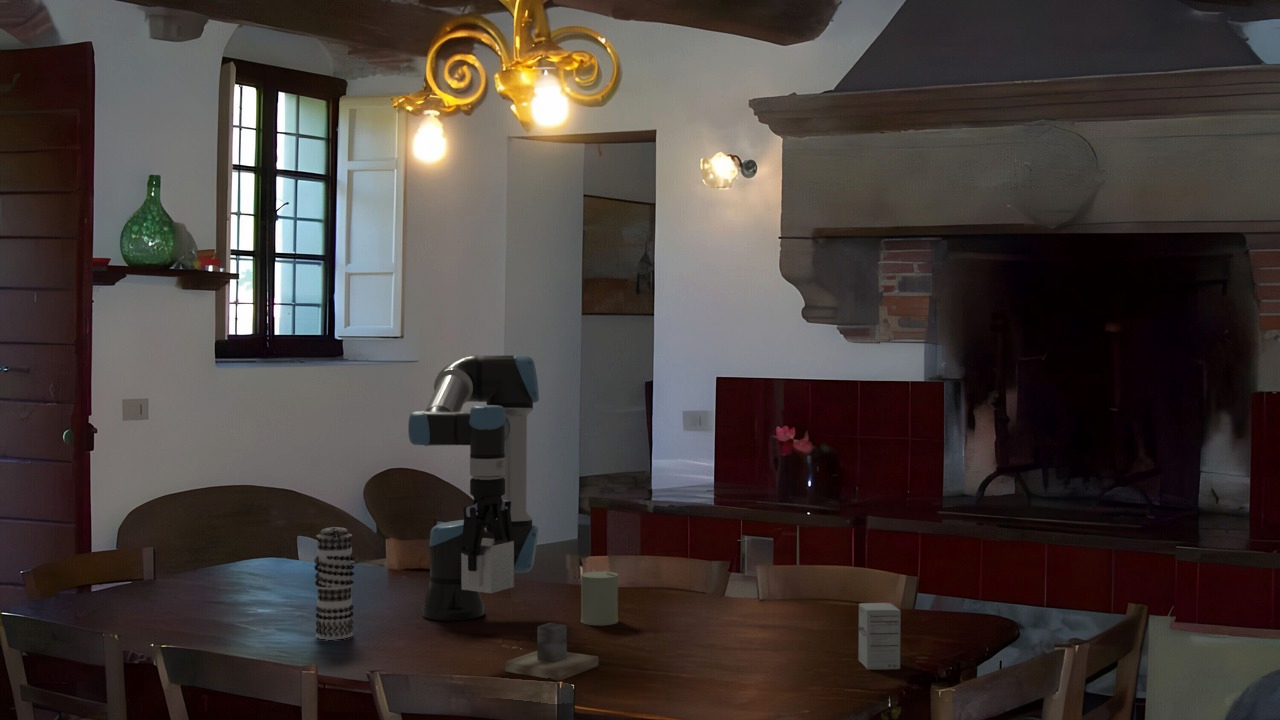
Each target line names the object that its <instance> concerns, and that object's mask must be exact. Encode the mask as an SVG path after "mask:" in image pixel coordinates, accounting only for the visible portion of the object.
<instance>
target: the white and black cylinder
mask: <svg viewBox="0 0 1280 720" xmlns="http://www.w3.org/2000/svg"><path fill="white" fill-rule="evenodd" d="M348 530H349V529H348V528H345V527H340V526H339V527H336V526H335V527H334V526H333V527H332V526H331V527H325V528H323V529H321V531H320V532H319V534H317V535H316V536H315V537H317V548H316V552H317V553H316V555H317V556H316V557H315V558H314V561H313V562H314V564H315V565H314V570H315V571H316V573H315V575H314V577H315V581H314V583H315V588H317V600H316V603H317V606H316V607H315V611H316V612H317V613H316V614H315V618H316V619H317V620H316V621H315V626H316V627H315V633H316V635H315V638H316V637H318V638H323V639H340V638H347V637H351V636H352V635H353V636H354V633H353V631H354V628H355V627H354V626H353V624H354V623H355V622H354V619H353V618H352V617H353V616H354V612H353V611H352V610H354V605H353V597H352V587H353V586H354V583H355V582H354V580H352V579H351V577H353V576H354V575H355V572H354V571H353V569H354V568H355V565H354V564H352V563H351V562H353V561H354V560H356V557H355V556H354V554H355V551H353V547H352V536H353V534H352V533H350V532H349V531H348ZM351 638H352V637H351Z"/></svg>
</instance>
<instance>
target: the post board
mask: <svg viewBox="0 0 1280 720" xmlns="http://www.w3.org/2000/svg"><path fill="white" fill-rule="evenodd" d="M536 631H537V632H536V633H537V636H536V638H537V640H536V641H537V644H536V645H537V646H536V647H537V649H536V651H532V652H530V653H527V654H524V655H521V656H518V657H515V658H512V659H509V660H507V661H504V672H505V673H506V672H507V673H512V674H519V675H525V676H531V677H537V678H541V679H542V678H543V679H548V678H551V679H550V680H554V681H559V682H560V681H563V680H566V679H569V678H570V677H574V676H576V675H579V674H581V673H584V672H586V671H589V670H591V669H594V668H597V667H599V656H598V655H589V654H583V653H577V652H570V651H568V648H567V647H568V625H566V624H561V623H554V622H548V623H544V624H541V625H538V626H537V630H536Z"/></svg>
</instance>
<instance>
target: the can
mask: <svg viewBox="0 0 1280 720" xmlns="http://www.w3.org/2000/svg"><path fill="white" fill-rule="evenodd" d="M580 577H581V578H580V580H581V582H580V583H581V584H580V585H581V592H580V593H581V600H580V601H581V602H580V603H581V606H580V607H581V609H580V610H581V611H580V612H581V615H580V616H581V617H580V618H581V619H580V622H581V624H584V625H588V626H597V627H598V626H612V625H615V624H618V623H619V610H618V609H619V605H618V603H619V597H618V596H619V592H618V591H619V590H618V588H619V574H618V573H617V572H613V571H603V570H602V571H601V570H600V571H586V572H583V573H581V574H580Z"/></svg>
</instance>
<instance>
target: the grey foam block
mask: <svg viewBox="0 0 1280 720" xmlns="http://www.w3.org/2000/svg"><path fill="white" fill-rule="evenodd" d="M466 548H467V547H466ZM473 550H474V549H473ZM478 555H479V556H481V586H480V587H477V586H470V585H469V570H468V556H467V555H464V554H463V553H461V584H462V590H470V591H477V592H480V593H485V594H494V593H497V592H501V591H505V590H509V589H511V588H512V589H513V588H515V573H514V541H508V540H499V539H490V538H482V542H481V546H480V550H479V554H478Z"/></svg>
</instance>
